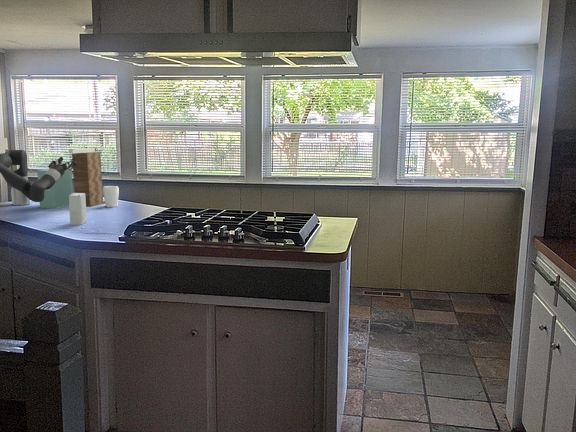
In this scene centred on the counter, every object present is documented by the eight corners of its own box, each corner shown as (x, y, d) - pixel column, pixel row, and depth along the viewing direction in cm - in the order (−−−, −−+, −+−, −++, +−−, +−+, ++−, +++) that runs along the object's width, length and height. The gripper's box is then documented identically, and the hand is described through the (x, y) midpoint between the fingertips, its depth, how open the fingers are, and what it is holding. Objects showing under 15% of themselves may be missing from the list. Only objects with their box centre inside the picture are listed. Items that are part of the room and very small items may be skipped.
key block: (54, 208, 306) (51, 170, 302) (39, 207, 308) (36, 170, 305) (73, 204, 324) (71, 168, 320) (59, 203, 326) (57, 168, 322)
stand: (90, 206, 312) (87, 153, 307) (72, 206, 315) (69, 152, 309) (105, 203, 328) (102, 151, 322) (88, 202, 330) (85, 151, 325)
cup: (103, 205, 317) (102, 186, 315) (118, 204, 321) (117, 185, 319) (104, 207, 309) (103, 187, 307) (120, 206, 313) (119, 187, 311)
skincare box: (75, 222, 262) (73, 192, 259) (87, 222, 262) (85, 192, 260) (69, 225, 254) (67, 194, 251) (82, 225, 254) (80, 194, 252)
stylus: (72, 153, 301) (72, 149, 301) (69, 153, 302) (68, 149, 301) (96, 151, 324) (96, 147, 324) (93, 151, 325) (93, 147, 324)
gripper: (45, 179, 291) (60, 163, 303) (67, 180, 287) (82, 163, 299) (39, 168, 286) (55, 152, 298) (62, 169, 283) (77, 152, 295)
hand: (68, 158), depth 299 cm, fingers open, 8 cm apart
